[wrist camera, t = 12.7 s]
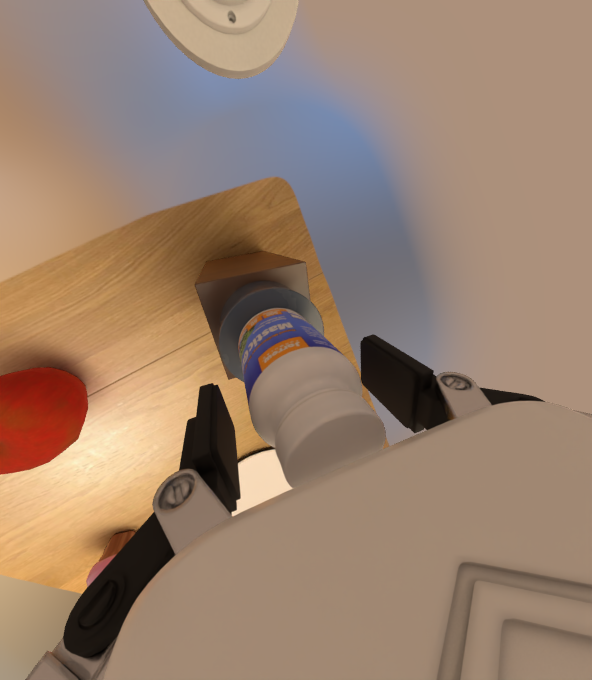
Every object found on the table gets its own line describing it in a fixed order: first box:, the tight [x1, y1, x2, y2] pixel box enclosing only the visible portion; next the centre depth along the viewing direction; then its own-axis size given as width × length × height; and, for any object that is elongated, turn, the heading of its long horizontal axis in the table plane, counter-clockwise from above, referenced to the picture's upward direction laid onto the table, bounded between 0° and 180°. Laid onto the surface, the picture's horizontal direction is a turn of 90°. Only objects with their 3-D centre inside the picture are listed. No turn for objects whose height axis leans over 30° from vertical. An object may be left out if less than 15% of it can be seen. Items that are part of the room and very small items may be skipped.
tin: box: [219, 280, 324, 382], centre depth 18 cm, size 8×8×4 cm
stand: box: [195, 251, 310, 379], centre depth 28 cm, size 9×9×20 cm
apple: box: [0, 367, 88, 474], centre depth 28 cm, size 12×12×14 cm
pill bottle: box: [238, 308, 386, 488], centre depth 12 cm, size 5×5×10 cm
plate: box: [232, 449, 293, 516], centre depth 58 cm, size 25×25×1 cm
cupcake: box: [86, 531, 135, 586], centre depth 47 cm, size 9×9×10 cm
